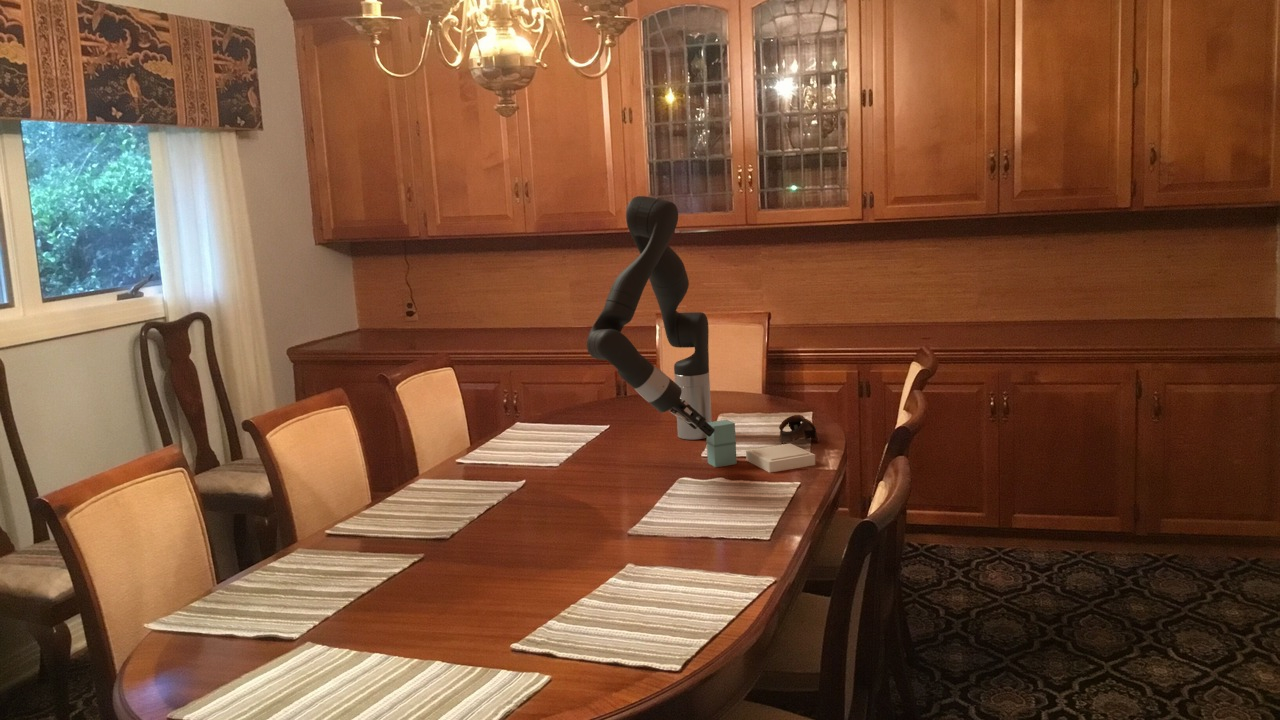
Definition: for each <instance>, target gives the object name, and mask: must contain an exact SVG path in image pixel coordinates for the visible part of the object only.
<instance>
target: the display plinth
mask: <svg viewBox="0 0 1280 720" xmlns="http://www.w3.org/2000/svg"><path fill="white" fill-rule="evenodd" d="M745 455H746V457H745V459H746V461H747V462H749V463H750V464H752V465H754V466H756V467H757V468H760V469H761V470H764V471H766V472H768V473H769V474H771V473H777V472H781V471H788V470H793V469H800V468H804V467H805V468H806V467H810V466H811V467H812V466H816V454H814V453H812V452H810V451H808V450H805V449H804V448H801V447H799V446H797V445H795V444H792V443H786V444H785V443H783V445H782V444H778V445H773V446H768V447H767V446H765V447H760V448H753V449H747V450H745Z"/></svg>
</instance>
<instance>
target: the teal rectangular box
mask: <svg viewBox="0 0 1280 720" xmlns="http://www.w3.org/2000/svg"><path fill="white" fill-rule="evenodd" d="M708 424H709V425H710V426H711V427H713V428H714V429H715V431H714V432H713V434H712V435H711V436H710V437H709V436H707V435H706V436H707V438H706V452H707V464H709V465H710V466H713V467H714V468H719V467H725V466H732V465H736V464H738V463H737V462H738V460H737V441H736V439H737V437H736V423H735V422H733V421H731V420H728V419H723V420H722V419H721V420H715V421H712V422H708Z"/></svg>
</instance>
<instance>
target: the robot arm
mask: <svg viewBox="0 0 1280 720" xmlns="http://www.w3.org/2000/svg"><path fill="white" fill-rule="evenodd" d="M625 219H626V225H627V229H628V232H629V234H630V236H631V238H632V239H633V242H634V244H635V246H636V248H637V249H638V251H639V253H640V254H639V255H638V256H637V258H635V259H634V260H633V261H632V262H631V263H630V264H629V265H627V266H626V267H625V268H624V269H623V270H622V271H621V272H620V273H619V274H618V275H617V277H616V278H615V280H614V281H613V283H612V285H611V288H610V290H609V292H608V296H607V299H605V300H606V301H605V303H604V307H603V309H602V310H601V312H600V314H599V315H598V317H597V318H596V320H595V322H594V324H593V325H592V327H591V329H590V331H589V333H588V336H587V340H586V348H587V352H588V354H589V355H590V356H591V357H592V358H594V359H596V360H598V361H599V360H600V361H601V360H602V361H607V362H608V363H610V364H611V365H612V366H613V367H614V368H616V369H617V374H618V375H619V377H620V378H621V379H622V380H623V381H625V382H626V383H627V384H628V385H629V386H630V387H631V388H633V390H635V392H636V393H637V394H639V396H641V397H642V398H643V400H645V401H646V402H647V403H649V404H650V405H651V406H652V407H653V408H654V409H656V411H658V412H660V413H666V412H669V413H671V414H672V415H673V416H675V417H676V425H677V427H676V429H677V437H678V438H679V439H683V440H701V439H707V436H709V437H710V436H711V435H712V434H713V432H714V431H715V429H714V428H713V427H711V426H710V425H709V424H708V422H713V421H712V406H711V405H712V402H711V382H710V361H709V360H710V355H709V354H710V353H709V337H710V335H709V334H710V332H709V330H710V329H709V321H708V317H707V315H706V314H705V313H704V312H702V311H701V312H698V311H697V312H695V311H694V312H693V311H692V312H690V311H689V312H679V311H677V310H678V307H679V305H680V304H681V303H682V301H683V300H684V299H685V296H686V294H687V293H688V290H689V285H690V282H689V281H690V280H689V277H688V273H687V271H686V267H685V263H684V262H683V260H682V259H681V257H680V256H679V255H678V254H677V252H676V251H675V250H674V249H673V248H671V246H670V245H669V243H670V242H671V239H673V238H672V237H673V235H674V234H675V232H676V229H677V225H678V221H679V210H678V207H677V205H676V204H675V203H674V202H672V201H669V200H665V199H662V198H661V199H660V198H656V197H651V196H645V195H640V196H639V195H638V196H635V197H633V198H632V199H631V200H630V201H629V202H628V204H627V207H626V211H625ZM648 281H649V283H650V286H651V289H652V291H653V293H654V295H655V299H656V301H657V304H658V306H659V310H660V314H661V318H662V322H663V326H664V331H665V336H666V338H667V341H668V343H669V345H670V346H671V347H673V348H678V349H680V348H682V349H683V348H684V349H685V348H686V349H688V348H694V352H693V354H691V355H690V356H688V357H685V358H682V359H680V360H677V361H676V362H675V363H674V365H673V371H674V380H672V379H671V377H669V376H668V375H667V374H666V373H665V372H663V371H662V370H661V369H660V368H658V367H656V365H654V364H653V363H651V362H650V361H649V360H648V359H647V358H645V357H644V356H643V355H642V354H640V352H639V351H638V349H637V348H636V346H634V344H633V343H632V341H630V339H629V338H628V337H627V336H625V335H624V334H623V333H622V330H623V328H624V327H625V326H626V325H627V324H629V323H630V322H631V321H632V319H633V318H634V316H635V313H636V310H637V307H638V305H639V303H640V299H641V296H642V294H643V292H644V290H645V287H646V286H647V283H648ZM706 435H707V436H706Z"/></svg>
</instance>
